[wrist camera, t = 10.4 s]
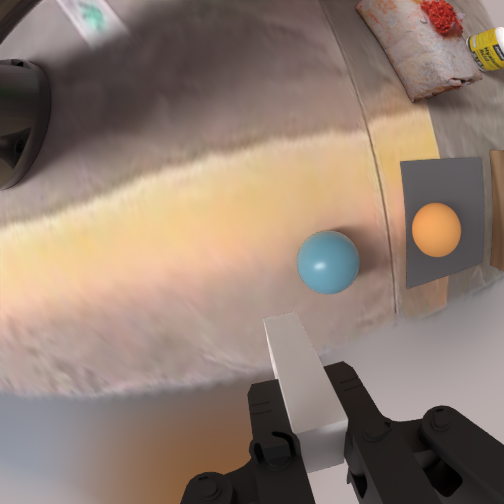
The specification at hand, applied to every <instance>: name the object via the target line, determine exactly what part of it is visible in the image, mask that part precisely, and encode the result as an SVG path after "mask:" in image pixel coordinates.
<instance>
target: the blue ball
mask: <svg viewBox="0 0 504 504" xmlns="http://www.w3.org/2000/svg"><path fill="white" fill-rule="evenodd" d="M359 266H360V258H359V253H358V250H357V248H356V246H355V245H354V243H353V242H352V241H351V240H350V239H349V238H348V237H347V236H345V235H344V234H342V233H340V232H337V231H331V230H326V231H321V232H318V233H315V234H313V235H312V236H310V237H309V238H308V239H307V240H306V241H305V242H304V243H303V244H302V246H301V248H300V250H299V253H298V257H297V268H298V272H299V275H300V277H301V279H302V280H303V282H304V283H305V284H306V285H307V286H308V287H309V288H310V289H312V290H314V291H315V292H318V293H322V294H335V293H339V292H341V291H343V290H345V289H346V288H348V287H349V286H350V285H351V284H352V283H353V281H354V280H355V278H356V276H357V274H358V271H359Z"/></svg>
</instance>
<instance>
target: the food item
mask: <svg viewBox="0 0 504 504" xmlns="http://www.w3.org/2000/svg"><path fill="white" fill-rule="evenodd" d="M355 9H356V10H357V12H358V13H359V14H360V15H361V16H362V18H363V19H364V20H365V22H366V23H367V25H368V27H369V28H370V29H371V31H372V32H373V33H374V35H375V36H376V38H377V40H378V41H379V43H380V44H381V46H382V48H383V49H384V51H385V52H386V53H387V56H388V58H389V60H390V61H391V63H392V65H393V67H394V69H395V71H396V73H397V74H398V76H399V77H400V79H401V81H402V83H403V85H404V87H405V88H406V91H407V93H408V96H409V98H410V99H411V101H412V102H416V101H420V100H422V99H430V98H427V97H431V98H432V97H434V96H436V95H437V94H440V93H442V92H445V91H450V90H453V89H461V88H462V87H463V86H465V85H468V84H471V83H474V82H477V81H479V80H482V78H483V77H482V75H481V74H480V71H479V69H478V67H477V65H476V63H475V60H474V58H473V56H472V54H471V52H470V50H469V48H468V46H467V44H466V42H465V40H464V38H463V36H462V33H463V31H462V29H463V27H462V26H461V25H460V24H461V22H462V19H463V18H465V16H466V15H465V14H463V13H461V12H457V11H456V10H453V7H452V6H450V4H448V3H446V2H445V1H444V0H361V1H360V2H359V3H358V4H357V6H356V7H355ZM455 12H457V13H455ZM463 15H464V16H463ZM458 21H459V22H458ZM459 23H460V24H459Z"/></svg>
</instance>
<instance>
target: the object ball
mask: <svg viewBox="0 0 504 504" xmlns="http://www.w3.org/2000/svg"><path fill="white" fill-rule="evenodd" d="M412 234H413V238H414V241H415V243H416V245H417V246H418V248H419V249H420V250H421V251H422V252H423V253H425V254H427V255H429V256H432V257H442V256H445V255H448V254H449V253H451V252H452V251H453V250H454V249H455V248H456V246H457V245H458V243H459V240H460V236H461V225H460V221H459V219H458V216H457V215H456V213H455V212H454V211H453V210H452V209H451V208H450V207H448V206H447V205H445V204H442V203H430V204H427V205H425V206H423V207H422V208H421V209H420V210H419V211H418V212H417V214H416V215H415V218H414V220H413V224H412Z"/></svg>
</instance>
